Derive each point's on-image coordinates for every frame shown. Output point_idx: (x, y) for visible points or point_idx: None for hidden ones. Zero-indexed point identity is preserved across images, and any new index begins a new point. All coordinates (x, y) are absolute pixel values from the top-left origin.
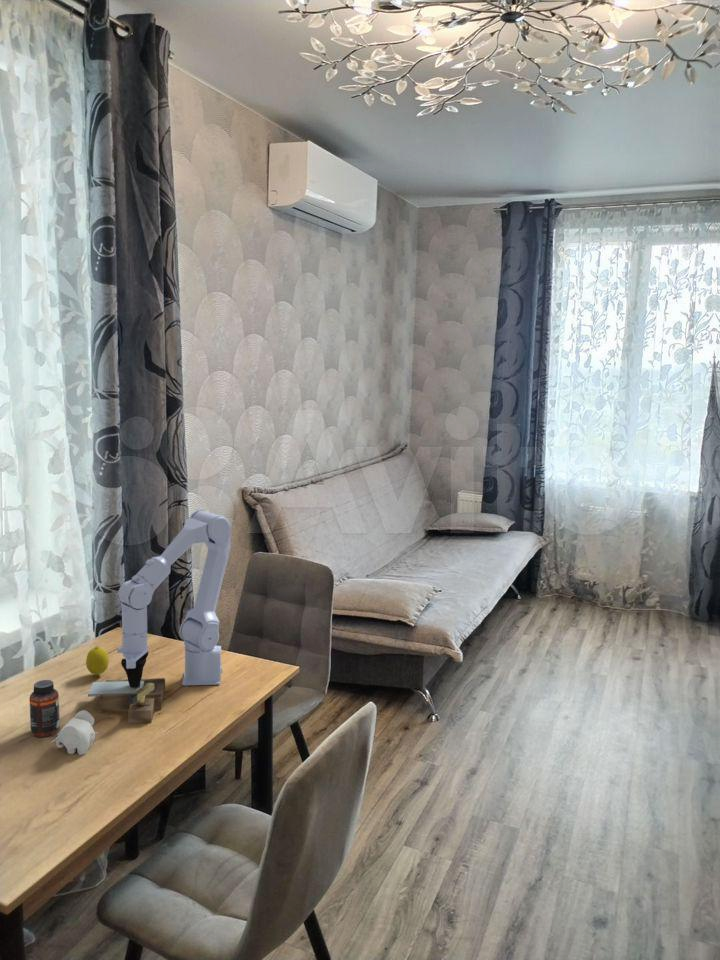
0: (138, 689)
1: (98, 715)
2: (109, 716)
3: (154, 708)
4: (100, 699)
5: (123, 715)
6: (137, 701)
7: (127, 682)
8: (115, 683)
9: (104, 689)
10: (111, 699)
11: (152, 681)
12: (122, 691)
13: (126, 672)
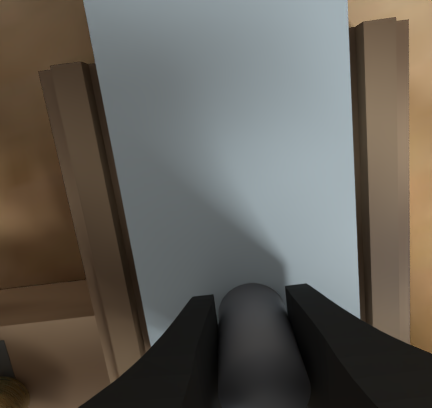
0: None
1: (35, 88)
2: (34, 162)
3: None
4: (48, 80)
5: (59, 240)
6: (61, 356)
7: (328, 230)
8: (309, 133)
9: (183, 68)
10: (65, 169)
11: None
12: (159, 235)
13: (108, 392)
